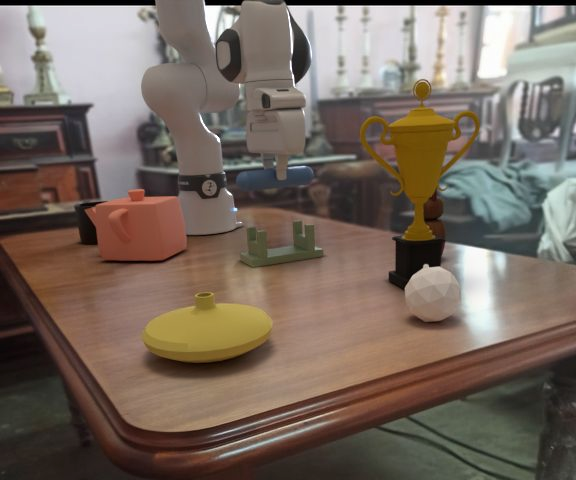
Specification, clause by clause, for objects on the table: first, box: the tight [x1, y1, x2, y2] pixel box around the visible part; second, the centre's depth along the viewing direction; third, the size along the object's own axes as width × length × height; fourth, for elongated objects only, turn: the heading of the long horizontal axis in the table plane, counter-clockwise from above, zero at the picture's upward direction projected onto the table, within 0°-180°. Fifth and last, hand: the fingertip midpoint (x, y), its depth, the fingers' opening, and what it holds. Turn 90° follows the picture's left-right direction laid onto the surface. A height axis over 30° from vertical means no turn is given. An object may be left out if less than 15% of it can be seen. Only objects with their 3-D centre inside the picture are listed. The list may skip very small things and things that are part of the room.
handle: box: [235, 165, 315, 192], centre depth 111 cm, size 16×4×4 cm, turn 114°
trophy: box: [359, 78, 481, 290], centre depth 89 cm, size 19×10×30 cm, turn 105°
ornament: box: [404, 264, 462, 323], centre depth 77 cm, size 7×7×8 cm
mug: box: [73, 200, 109, 245], centre depth 145 cm, size 9×12×9 cm
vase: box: [141, 291, 274, 364], centre depth 70 cm, size 16×16×7 cm
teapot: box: [85, 188, 188, 262], centre depth 124 cm, size 20×22×14 cm
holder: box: [239, 219, 324, 268], centre depth 115 cm, size 7×15×6 cm, turn 114°
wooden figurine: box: [423, 188, 447, 257], centre depth 106 cm, size 7×6×15 cm
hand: (275, 179), depth 111 cm, fingers closed on handle, 3 cm apart
